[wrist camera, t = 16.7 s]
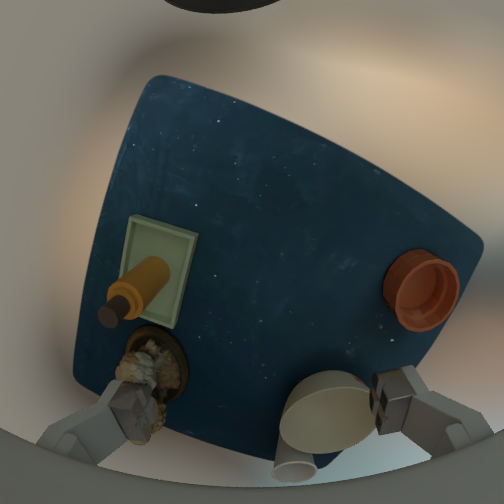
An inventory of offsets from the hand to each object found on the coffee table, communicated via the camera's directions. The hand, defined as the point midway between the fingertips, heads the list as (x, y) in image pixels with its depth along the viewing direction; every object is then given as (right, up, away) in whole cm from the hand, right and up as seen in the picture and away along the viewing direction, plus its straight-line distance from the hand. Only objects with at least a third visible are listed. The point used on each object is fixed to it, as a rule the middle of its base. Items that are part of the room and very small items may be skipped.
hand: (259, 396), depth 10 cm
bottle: (-15, +2, +34) cm, 38 cm away
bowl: (+12, -18, +39) cm, 45 cm away
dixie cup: (+8, -32, +43) cm, 55 cm away
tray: (-15, +2, +35) cm, 38 cm away
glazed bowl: (+25, 0, +33) cm, 42 cm away
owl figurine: (-17, -15, +40) cm, 46 cm away
